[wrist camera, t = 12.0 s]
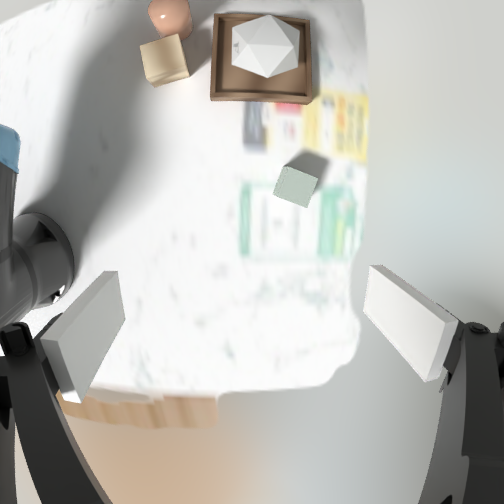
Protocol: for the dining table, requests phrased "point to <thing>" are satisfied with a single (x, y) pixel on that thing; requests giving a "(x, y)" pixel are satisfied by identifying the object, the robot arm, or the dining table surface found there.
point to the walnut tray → (249, 83)
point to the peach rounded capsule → (171, 17)
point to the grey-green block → (295, 186)
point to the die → (265, 46)
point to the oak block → (164, 60)
